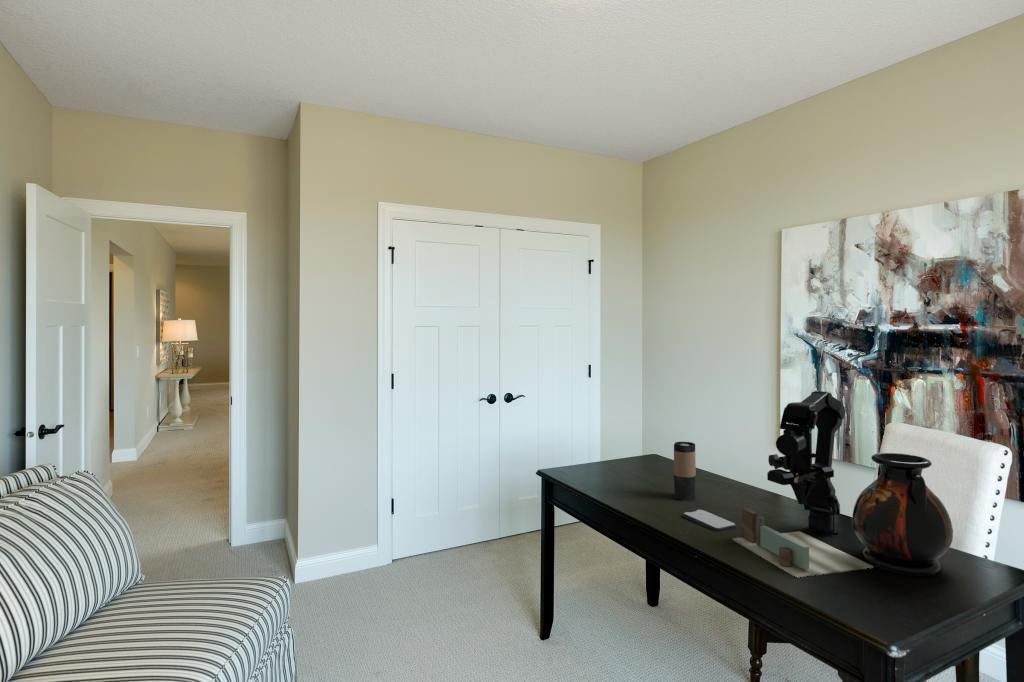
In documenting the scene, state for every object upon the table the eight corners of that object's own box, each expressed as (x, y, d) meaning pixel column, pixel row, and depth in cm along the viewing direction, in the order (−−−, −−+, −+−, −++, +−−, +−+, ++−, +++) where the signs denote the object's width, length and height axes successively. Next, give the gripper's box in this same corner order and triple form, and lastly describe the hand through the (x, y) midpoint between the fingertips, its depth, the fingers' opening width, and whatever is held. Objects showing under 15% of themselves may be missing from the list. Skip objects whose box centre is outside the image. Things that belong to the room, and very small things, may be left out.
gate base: (799, 532, 170) (799, 502, 169) (873, 567, 144) (873, 533, 144) (732, 539, 164) (732, 509, 164) (796, 578, 139) (796, 542, 139)
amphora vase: (837, 547, 158) (837, 448, 158) (919, 549, 156) (920, 449, 155) (878, 581, 137) (878, 467, 136) (974, 584, 134) (975, 468, 134)
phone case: (738, 529, 175) (701, 513, 189) (738, 524, 174) (701, 508, 189) (717, 534, 171) (680, 517, 185) (717, 529, 171) (680, 512, 185)
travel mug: (700, 499, 203) (700, 444, 202) (683, 502, 200) (682, 446, 200) (686, 494, 210) (686, 440, 210) (669, 496, 207) (669, 442, 207)
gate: (754, 543, 159) (754, 516, 159) (760, 542, 160) (760, 516, 159) (803, 569, 142) (803, 539, 141) (809, 568, 142) (809, 538, 142)
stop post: (786, 563, 148) (786, 546, 147) (794, 568, 145) (794, 550, 144) (776, 564, 147) (776, 547, 147) (784, 569, 144) (784, 552, 144)
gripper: (802, 439, 167) (802, 491, 168) (752, 446, 161) (753, 500, 162) (835, 447, 157) (835, 502, 157) (782, 455, 150) (783, 512, 151)
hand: (800, 504), depth 157 cm, fingers closed
